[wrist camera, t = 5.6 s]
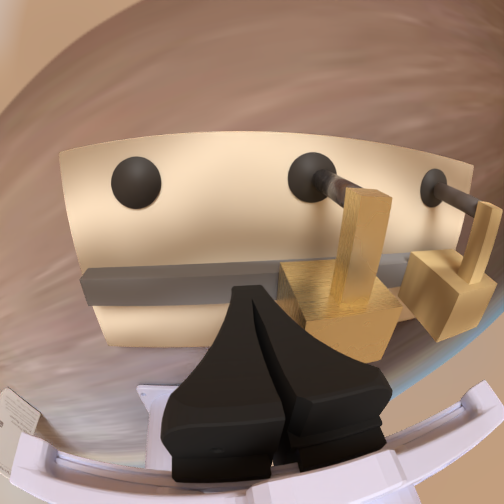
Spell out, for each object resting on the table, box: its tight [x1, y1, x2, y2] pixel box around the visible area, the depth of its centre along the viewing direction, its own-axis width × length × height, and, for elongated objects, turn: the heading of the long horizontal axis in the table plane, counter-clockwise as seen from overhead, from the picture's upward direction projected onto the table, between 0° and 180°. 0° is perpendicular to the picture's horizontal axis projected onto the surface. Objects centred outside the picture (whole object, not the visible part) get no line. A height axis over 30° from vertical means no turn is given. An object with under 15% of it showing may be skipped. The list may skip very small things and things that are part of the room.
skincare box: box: [0, 387, 41, 479], centre depth 15 cm, size 6×4×12 cm
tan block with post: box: [277, 169, 403, 363], centre depth 11 cm, size 7×4×5 cm, turn 179°
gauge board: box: [59, 131, 503, 347], centre depth 12 cm, size 12×24×7 cm, turn 89°
